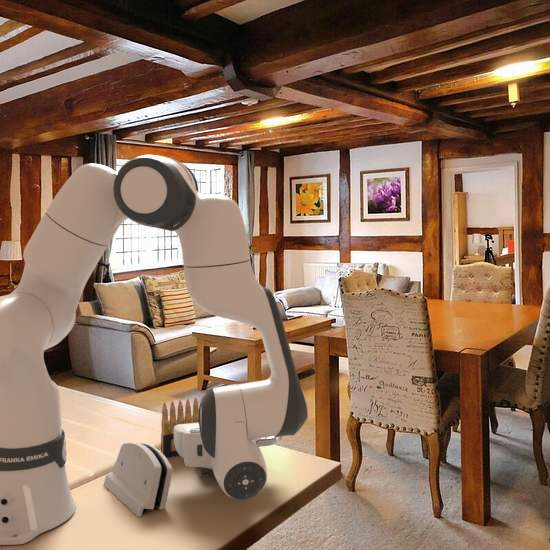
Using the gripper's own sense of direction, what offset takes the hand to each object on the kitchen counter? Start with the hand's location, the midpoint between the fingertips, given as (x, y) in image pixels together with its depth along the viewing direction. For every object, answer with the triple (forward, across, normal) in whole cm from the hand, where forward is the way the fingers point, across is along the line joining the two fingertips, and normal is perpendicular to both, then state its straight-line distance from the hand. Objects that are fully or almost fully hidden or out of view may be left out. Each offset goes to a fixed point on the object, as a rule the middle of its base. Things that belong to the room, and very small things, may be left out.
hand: (220, 420), depth 120 cm
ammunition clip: (+7, +7, +9) cm, 14 cm away
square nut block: (-1, 0, +9) cm, 9 cm away
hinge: (-10, +17, +9) cm, 22 cm away
